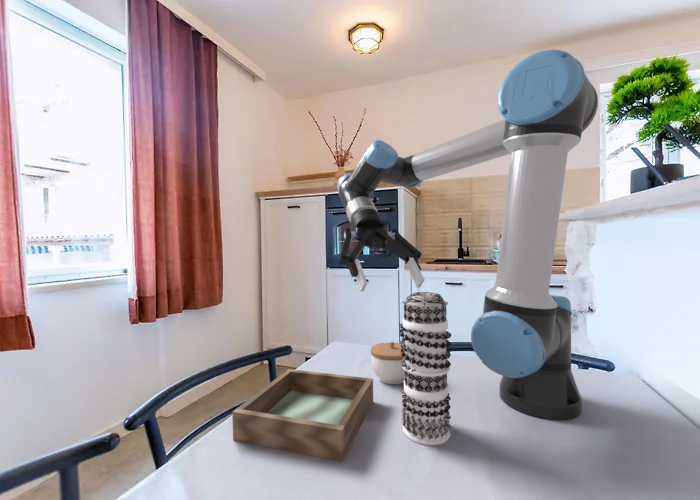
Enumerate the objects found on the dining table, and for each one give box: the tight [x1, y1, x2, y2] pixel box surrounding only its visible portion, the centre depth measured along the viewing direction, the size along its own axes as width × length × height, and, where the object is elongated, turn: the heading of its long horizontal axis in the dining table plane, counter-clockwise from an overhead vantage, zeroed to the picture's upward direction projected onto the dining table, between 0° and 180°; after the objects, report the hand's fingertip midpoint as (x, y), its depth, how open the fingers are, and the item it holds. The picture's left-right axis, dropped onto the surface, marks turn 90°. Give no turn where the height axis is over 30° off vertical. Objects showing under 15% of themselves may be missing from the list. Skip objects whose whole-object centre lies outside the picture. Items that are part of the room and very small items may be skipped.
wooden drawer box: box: [232, 368, 374, 462], centre depth 64 cm, size 20×20×5 cm
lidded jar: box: [370, 341, 405, 385], centre depth 83 cm, size 11×11×9 cm
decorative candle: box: [398, 291, 452, 446], centre depth 59 cm, size 9×9×25 cm
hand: (393, 285), depth 69 cm, fingers open, 13 cm apart
